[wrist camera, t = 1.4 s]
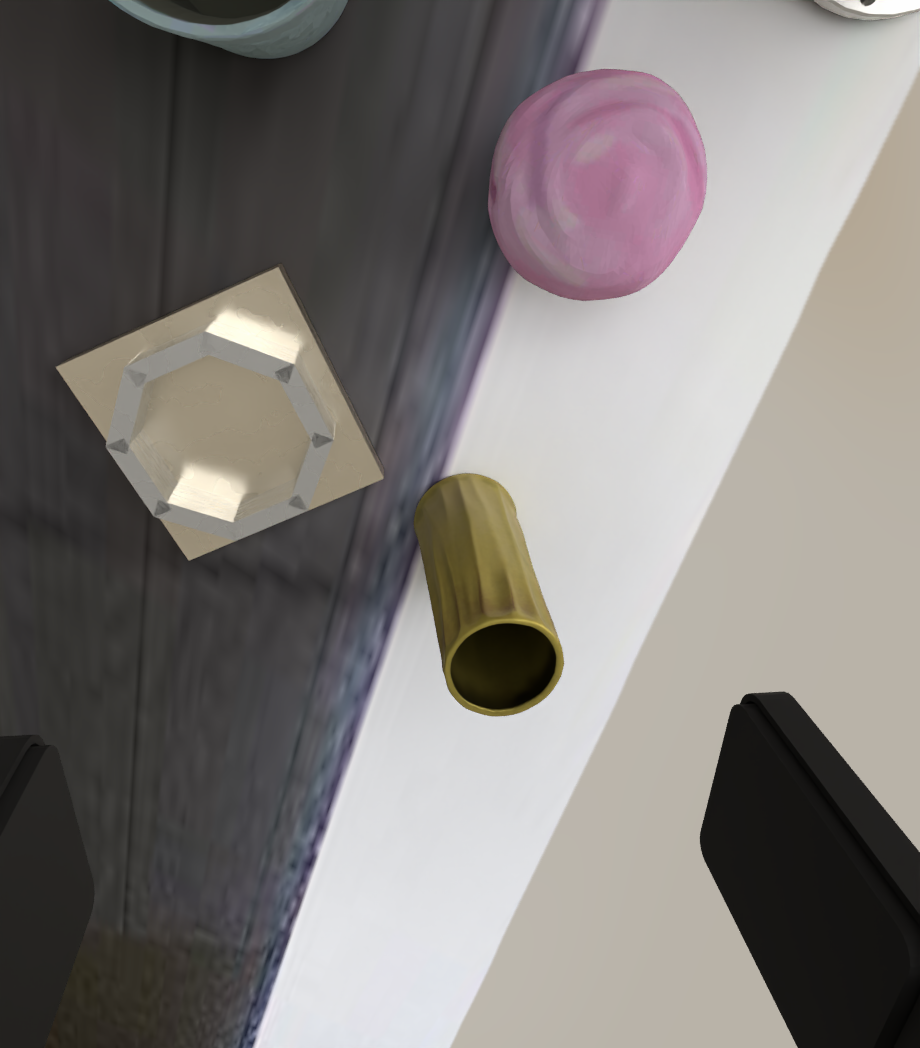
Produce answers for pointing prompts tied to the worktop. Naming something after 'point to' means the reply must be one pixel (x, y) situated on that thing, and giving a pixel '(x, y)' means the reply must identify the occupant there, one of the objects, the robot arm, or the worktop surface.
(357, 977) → the worktop surface
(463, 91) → the worktop surface
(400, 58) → the worktop surface
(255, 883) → the worktop surface
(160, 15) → the blue-green cup
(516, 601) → the vase
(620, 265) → the cupcake
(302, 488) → the ring stand
